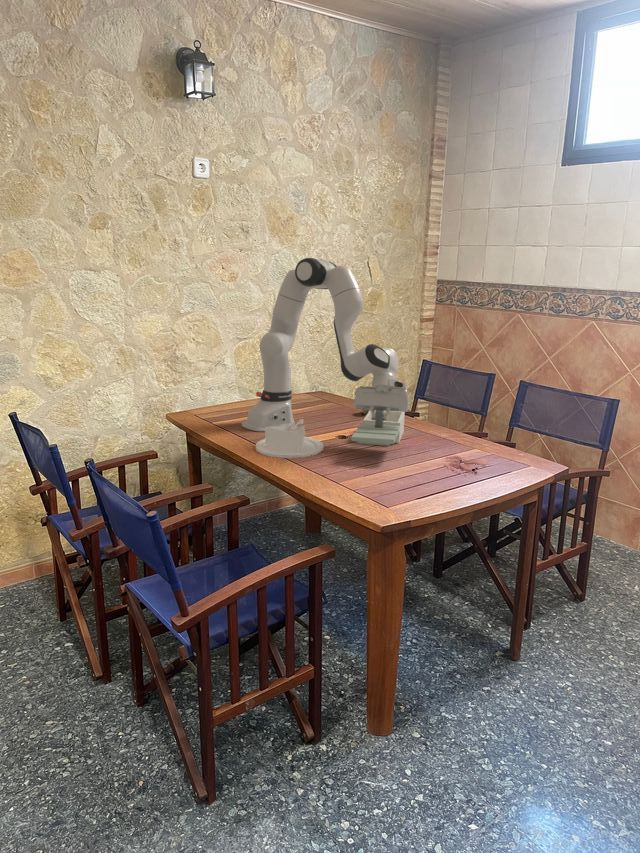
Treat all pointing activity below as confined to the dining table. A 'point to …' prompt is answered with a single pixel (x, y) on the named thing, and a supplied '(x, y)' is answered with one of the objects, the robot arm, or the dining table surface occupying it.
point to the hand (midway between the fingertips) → (379, 419)
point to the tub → (389, 421)
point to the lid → (376, 432)
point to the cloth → (458, 459)
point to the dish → (288, 442)
